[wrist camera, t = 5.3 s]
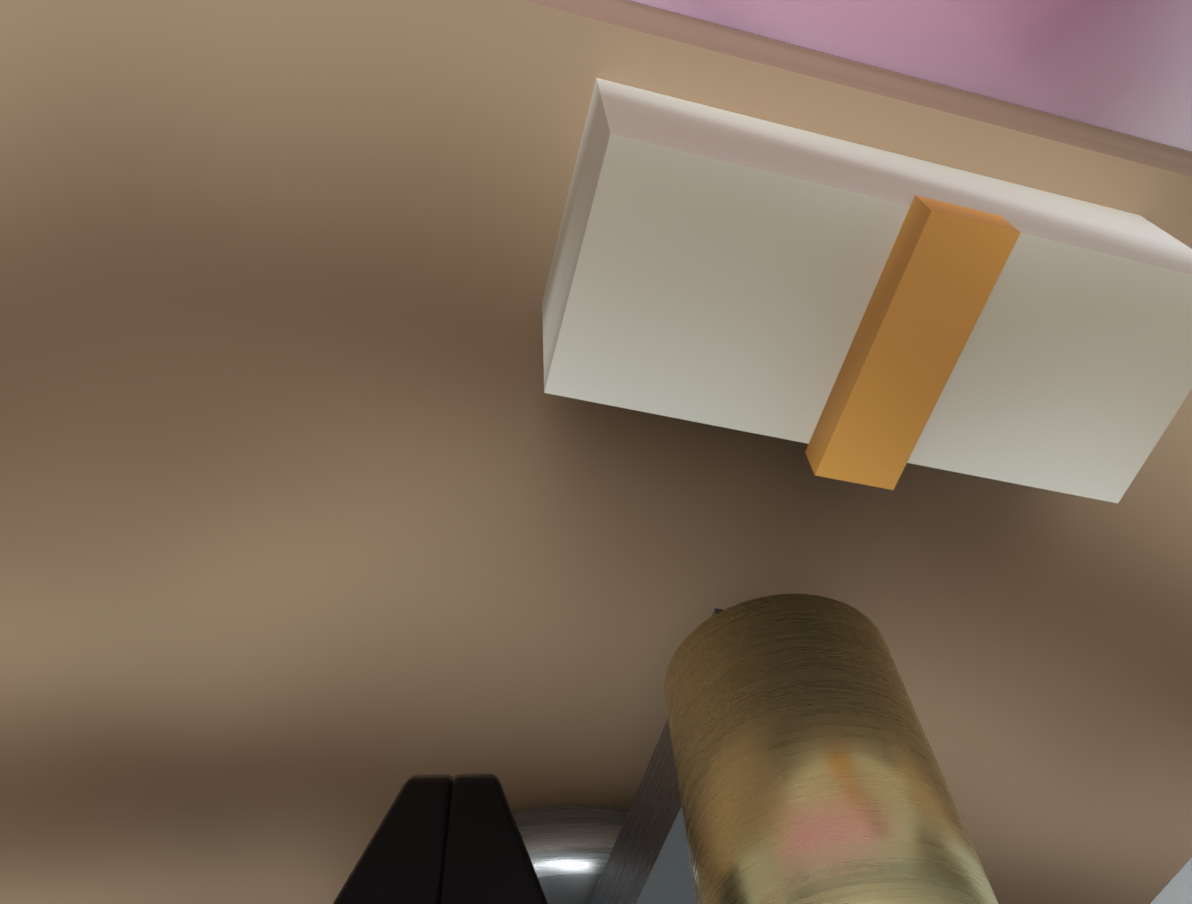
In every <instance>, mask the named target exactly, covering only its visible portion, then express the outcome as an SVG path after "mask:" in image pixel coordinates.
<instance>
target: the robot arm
mask: <svg viewBox="0 0 1192 904" xmlns="http://www.w3.org/2000/svg"><path fill="white" fill-rule="evenodd" d="M333 904H548V902H547V900H546V897H545V895H544V892H543V890H542V887H541V884H540V882H539V879H538V877H537V874H536V872H535V869H534V866H533V864H532V861H531V859H530V856H529V854H528V851H527V849H526V846H525V843H524V841H523V838H522V836H521V833H520V831H519V828H518V825H517V823H516V820H515V818H514V815H513V813H512V810H511V807H510V805H509V802H508V800H507V797H506V795H505V792H504V790H503V787H502V784H501V782H500V780H499V778H498V777H497V776H496V775H494V774H492V773H474V774H458V775H456V776H454V777H453V776H451V775H448V774H428V775H414V776H411V777H410V778H408V779H407V781H406V782H405V783H404V784H403V786H402V788H401V789H400V791H399V793H398V794H397V796H396V798H395V799H394V801H393V803H392V805H391V806H390V808H389V810H388V811H387V813H386V815H385V816H384V818H383V820H382V821H381V823H380V825H379V826H378V828H377V830H376V832H375V833H374V835H373V837H372V838H371V840H370V842H369V843H368V845H367V847H366V848H365V850H364V852H363V854H362V855H361V857H360V859H359V860H358V862H357V864H356V865H355V867H354V869H353V870H352V872H351V874H350V876H349V877H348V879H347V881H346V882H345V884H344V886H343V887H342V889H341V891H340V892H339V894H338V896H337V898H336V899H335V901H334V903H333Z"/></svg>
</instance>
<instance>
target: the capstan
mask: <svg viewBox="0 0 1192 904" xmlns="http://www.w3.org/2000/svg"><path fill="white" fill-rule="evenodd" d="M664 690H665V701H666V707H667V714H668V719H667V722H666V724H665V726H664V729H663V731H662V733H661V736H660V738H659V740H658V743H657V745H656V747H655V750H654V752H653V755H652V757H651V759H650V762H649V764H648V766H647V769H646V771H645V773H644V776H643V778H642V780H641V783H640V785H639V787H638V790H637V792H636V795H635V797H634V799H633V802H632V804H631V806H630V808H628V807H615V806H603V805H559V806H548V807H537V808H527V809H521V810H516V811H512V813H513V815H514V818H515V820H516V823H517V825H518V828H519V831H520V833H521V836H522V838H523V841H524V843H525V846H526V849H527V851H528V854H529V856H530V859H531V861H532V864H533V866H534V869H535V872H536V874H537V877H538V879H539V882H540V884H541V887H542V890H543V892H544V895H545V897H546V900H547V902H548V904H998V901H997V899H996V897H995V895H994V892H993V890H992V888H991V885H990V883H989V881H988V878H987V876H986V874H985V871H984V869H983V867H982V864H981V862H980V860H979V857H978V855H977V853H976V850H975V848H974V846H973V844H972V841H971V839H970V837H969V834H968V832H967V830H966V827H965V825H964V823H963V820H962V818H961V816H960V813H959V811H958V809H957V806H956V804H955V802H954V799H953V797H952V795H951V793H950V790H949V788H948V786H947V783H946V781H945V779H944V776H943V774H942V772H941V769H940V767H939V765H938V762H937V760H936V758H935V755H934V753H933V751H932V748H931V746H930V744H929V742H928V739H927V737H926V735H925V732H924V730H923V728H922V725H921V723H920V721H919V718H918V716H917V714H916V711H915V709H914V707H913V704H912V702H911V700H910V697H909V695H908V693H907V691H906V688H905V686H904V684H903V681H902V679H901V677H900V674H899V672H898V670H897V667H896V665H895V663H894V660H893V658H892V656H891V653H890V651H889V649H888V646H887V644H886V642H885V640H884V638H883V635H882V634H881V632H880V631H879V629H878V628H877V627H876V625H875V624H874V623H873V622H872V621H871V620H870V619H869V618H868V617H867V616H865V615H864V614H863V613H861V612H860V611H858V610H857V609H855V608H853V607H851V606H849V605H847V604H845V603H843V602H840V601H837V600H834V599H831V598H827V597H823V596H818V595H809V594H779V595H770V596H765V597H760V598H755V599H752V600H749V601H745V602H742V603H739V604H737V605H734V606H732V607H729V608H727V609H725V610H723V609H717V608H715V609H714V611H713V613H712V616H711V618H709V619H708V620H706V621H705V622H703V623H702V624H701V625H699V626H698V627H697V628H696V629H695V630H694V631H692V632H691V633H690V634H689V635H688V636H687V637H686V639H685V640H684V641H683V642H682V643H681V644H680V646H679V647H678V649H677V650H676V652H675V653H674V655H673V657H672V659H671V661H670V663H669V666H668V669H667V672H666V676H665V684H664Z"/></svg>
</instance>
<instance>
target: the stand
mask: <svg viewBox="0 0 1192 904" xmlns="http://www.w3.org/2000/svg"><path fill="white" fill-rule="evenodd" d="M779 594H809V595H818V596H823V597H827V598H831V599H834V600H837V601H840V602H843V603H845V604H847V605H849V606H851V607H853V608H855V609H857V610H858V611H860V612H861V613H863V614H864V615H865V616H867V617H868V618H869V619H870V620H871V621H872V622H873V623H874V624H875V625H876V627H877V628H878V629H879V631H880V632H881V634H882V635H883V638H884V640H885V642H886V644H887V646H888V649H889V651H890V653H891V656H892V658H893V660H894V663H895V665H896V667H897V670H898V672H899V674H900V677H901V679H902V681H903V684H904V686H905V688H906V691H907V693H908V695H909V697H910V700H911V702H912V704H913V707H914V709H915V711H916V714H917V716H918V718H919V721H920V723H921V725H922V728H923V730H924V732H925V735H926V737H927V739H928V742H929V744H930V746H931V748H932V751H933V753H934V755H935V758H936V760H937V762H938V765H939V767H940V769H941V772H942V774H943V776H944V779H945V781H946V783H947V786H948V788H949V790H950V793H951V795H952V797H953V799H954V802H955V804H956V806H957V809H958V811H959V813H960V816H961V818H962V820H963V823H964V825H965V827H966V830H967V832H968V834H969V837H970V839H971V841H972V844H973V846H974V848H975V850H976V853H977V855H978V857H979V860H980V862H981V864H982V867H983V869H984V871H985V874H986V876H987V878H988V881H989V883H990V885H991V888H992V890H993V892H994V895H995V897H996V899H997V901H998V904H1150V903H1151V902H1152V901H1153V900H1154V898H1155V897H1156V896H1157V895H1158V894H1159V893H1160V892H1161V891H1162V889H1163V888H1164V887H1165V886H1166V885H1167V884H1168V883H1169V882H1170V881H1171V879H1172V878H1173V877H1174V876H1175V875H1176V874H1177V873H1178V872H1179V871H1180V869H1181V868H1182V867H1183V866H1184V865H1185V864H1186V863H1187V862H1188V860H1189V859H1190V858H1191V857H1192V152H1190V151H1187V150H1183V149H1179V148H1176V147H1172V146H1168V145H1164V144H1161V143H1157V142H1153V141H1150V140H1146V139H1142V138H1138V137H1135V136H1131V135H1127V134H1124V133H1120V132H1116V131H1112V130H1109V129H1105V128H1101V127H1098V126H1094V125H1090V124H1086V123H1083V122H1079V121H1075V120H1071V119H1068V118H1064V117H1060V116H1057V115H1053V114H1049V113H1045V112H1042V111H1038V110H1034V109H1031V108H1027V107H1023V106H1019V105H1016V104H1012V103H1008V102H1005V101H1001V100H997V99H993V98H990V97H986V96H982V95H979V94H975V93H971V92H967V91H964V90H960V89H956V88H953V87H949V86H945V85H941V84H938V83H934V82H930V81H926V80H923V79H919V78H915V77H912V76H908V75H904V74H900V73H897V72H893V71H889V70H886V69H882V68H878V67H874V66H871V65H867V64H863V63H860V62H856V61H852V60H848V59H845V58H841V57H837V56H834V55H830V54H826V53H822V52H819V51H815V50H811V49H807V48H804V47H800V46H796V45H793V44H789V43H785V42H781V41H778V40H774V39H770V38H767V37H763V36H759V35H755V34H752V33H748V32H744V31H741V30H737V29H733V28H729V27H726V26H722V25H718V24H715V23H711V22H707V21H703V20H700V19H696V18H692V17H689V16H685V15H681V14H677V13H674V12H670V11H666V10H662V9H659V8H655V7H651V6H648V5H644V4H640V3H636V2H633V1H629V0H0V904H333V903H334V901H335V899H336V898H337V896H338V894H339V892H340V891H341V889H342V887H343V886H344V884H345V882H346V881H347V879H348V877H349V876H350V874H351V872H352V870H353V869H354V867H355V865H356V864H357V862H358V860H359V859H360V857H361V855H362V854H363V852H364V850H365V848H366V847H367V845H368V843H369V842H370V840H371V838H372V837H373V835H374V833H375V832H376V830H377V828H378V826H379V825H380V823H381V821H382V820H383V818H384V816H385V815H386V813H387V811H388V810H389V808H390V806H391V805H392V803H393V801H394V799H395V798H396V796H397V794H398V793H399V791H400V789H401V788H402V786H403V784H404V783H405V782H406V781H407V779H408V778H410V777H411V776H414V775H428V774H448V775H451V776H453V777H454V776H456V775H458V774H474V773H492V774H494V775H496V776H497V777H498V778H499V780H500V782H501V784H502V787H503V790H504V792H505V795H506V797H507V800H508V802H509V805H510V807H511V810H512V811H516V810H521V809H527V808H537V807H548V806H559V805H603V806H615V807H628V808H630V806H631V804H632V802H633V799H634V797H635V795H636V792H637V790H638V787H639V785H640V783H641V780H642V778H643V776H644V773H645V771H646V769H647V766H648V764H649V762H650V759H651V757H652V755H653V752H654V750H655V747H656V745H657V743H658V740H659V738H660V736H661V733H662V731H663V729H664V726H665V724H666V722H667V719H668V714H667V707H666V701H665V690H664V684H665V676H666V672H667V669H668V666H669V663H670V661H671V659H672V657H673V655H674V653H675V652H676V650H677V649H678V647H679V646H680V644H681V643H682V642H683V641H684V640H685V639H686V637H687V636H688V635H689V634H690V633H691V632H692V631H694V630H695V629H696V628H697V627H698V626H699V625H701V624H702V623H703V622H705V621H706V620H708V619H709V618H711V616H712V613H713V611H714V609H715V608H717V609H723V610H725V609H727V608H729V607H732V606H734V605H737V604H739V603H742V602H745V601H749V600H752V599H755V598H760V597H765V596H770V595H779Z"/></svg>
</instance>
